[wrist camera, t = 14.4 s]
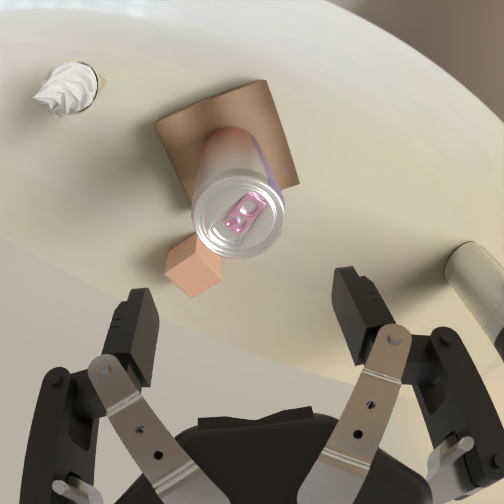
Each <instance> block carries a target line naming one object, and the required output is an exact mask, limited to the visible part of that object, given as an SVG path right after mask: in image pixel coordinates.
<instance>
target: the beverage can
mask: <svg viewBox="0 0 504 504" xmlns="http://www.w3.org/2000/svg"><path fill="white" fill-rule="evenodd" d="M191 216H192V221H193V225H194V229H195V232H196V235H197V237H198V238H199V240H200V241H201V243H202V244H203V245H204V246H205V247H206V248H207V249H209V250H210V251H212V252H213V253H215V254H217V255H219V256H222V257H226V258H231V259H244V258H249V257H253V256H256V255H258V254H261V253H262V252H264V251H266V250H267V249H268V248H270V247H271V246H272V245H273V244H274V243H275V242H276V241H277V239H278V238H279V236H280V234H281V232H282V230H283V227H284V222H285V203H284V199H283V196H282V193H281V191H280V189H279V187H278V184H277V182H276V180H275V178H274V176H273V174H272V171H271V169H270V167H269V165H268V163H267V161H266V158H265V156H264V154H263V152H262V150H261V148H260V146H259V144H258V142H257V140H256V139H255V137H254V136H253V135H252V134H251V133H249V132H248V131H246V130H244V129H241V128H237V127H227V128H223V129H220V130H218V131H216V132H214V133H213V134H212V135H211V136H210V137H209V138H208V139H207V141H206V142H205V144H204V147H203V150H202V155H201V160H200V165H199V169H198V174H197V180H196V185H195V190H194V195H193V201H192V206H191Z"/></svg>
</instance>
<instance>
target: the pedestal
mask: <svg viewBox="0 0 504 504" xmlns="http://www.w3.org/2000/svg"><path fill="white" fill-rule="evenodd" d="M154 125H155V128H156V130H157V132H158V134H159V136H160V139H161V141H162V143H163V145H164V147H165V149H166V152H167V154H168V156H169V158H170V160H171V162H172V164H173V166H174V169H175V171H176V173H177V175H178V177H179V179H180V181H181V183H182V185H183V188H184V190H185V192H186V194H187V196H188V198H189V200H190V202H191V204H192V201H193V195H194V190H195V185H196V180H197V174H198V169H199V165H200V160H201V155H202V150H203V147H204V144H205V142H206V141H207V139H208V138H209V137H210V136H211V135H212V134H213V133H214V132H216V131H218V130H220V129H223V128H227V127H237V128H241V129H244V130H246V131H248V132H249V133H251V134H252V135H253V136H254V137H255V139H256V140H257V142H258V144H259V146H260V148H261V150H262V152H263V154H264V156H265V158H266V161H267V163H268V165H269V167H270V169H271V171H272V174H273V176H274V178H275V180H276V182H277V184H278V187H279V189H280V190H283V189H286V188H289V187H292V186H295V185H298V184H300V183H299V179H298V176H297V172H296V169H295V166H294V163H293V159H292V156H291V153H290V150H289V147H288V143H287V140H286V137H285V134H284V131H283V128H282V125H281V122H280V119H279V116H278V113H277V110H276V107H275V104H274V101H273V98H272V95H271V92H270V90H269V87H268V84H267V81H266V80H259V81H256V82H253V83H250V84H247V85H244V86H241V87H238V88H235V89H232V90H230V91H227V92H224V93H221V94H219V95H216V96H213V97H211V98H208V99H205V100H203V101H200V102H198V103H195V104H193V105H190V106H188V107H186V108H183V109H181V110H178V111H176V112H174V113H172V114H169V115H167V116H165V117H163V118H160V119H159V120H158V121H156V122H155V123H154Z"/></svg>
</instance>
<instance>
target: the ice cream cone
mask: <svg viewBox="0 0 504 504" xmlns="http://www.w3.org/2000/svg"><path fill="white" fill-rule="evenodd" d="M106 82H107V81H106V80H105V79H104V78H103V77H102V76H101V75H100V74H98V73H97V72H96V71H95V69H94V68H93V67H92V66H91V65H89V64H88V63H85V62H81V61H71V62H66V63H64V64H60V65H58V66H56V67H55V68H53V69H51V70H50V71H49V73H48V74H47V76H46V77H45V79H44V80H43V82H42V84H41V86H40V89H39V91H38V92H37V93H36V94H35V95H34V97H33V98H32V99H35V100H37V101H39V102H40V103H41V105H42V106H43V105H45V108H46V109H47V110H48V111H49V112H50V113H51V114H54V112H56V114H57V115H59V116H60V117H62V116H64V115H65V114H68V115H77V114H80V113H83V112H84V111H86V110H87V109H88V108H90V107H91V105H92V104H93V103H94V101H95V100H96V98H97V95H98V94H99V92H100V91H101V90H102V88H103V87H104V85H105V84H106Z"/></svg>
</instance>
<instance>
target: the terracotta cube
mask: <svg viewBox="0 0 504 504" xmlns="http://www.w3.org/2000/svg"><path fill="white" fill-rule="evenodd" d="M164 274H165V275H166V276H167V277H168V278H169V279H170V280H171V281H172V282H173V283H174V284H175V285H176V286H177V287H179V288H180V289H181V290H182V291H183V292H184V293H185V294H186V295H187V296H188V297H190V298H192V297H194V296H196V295H197V294H199V293H201V292H203V291H204V290H206V289H208V288H209V287H211V286H213V285H214V284H216V283H218V282H219V281H221V280H222V271H221V256H219V255H217V254H215V253H213V252H212V251H210V250H209V249H207V248H206V247H205V246H204V245H203V244H202V243H201V241H200V240H199V238H198V237H197V235H196V233H194V234H193V235H191V236H190V237H189V238H187V239H186V240H184V241H183V242H181V243H180V244H178V245H177V246H176V247H174V248H173V249H171V250H170V251H169V253H168V257H167V262H166V266H165V271H164Z"/></svg>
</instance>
